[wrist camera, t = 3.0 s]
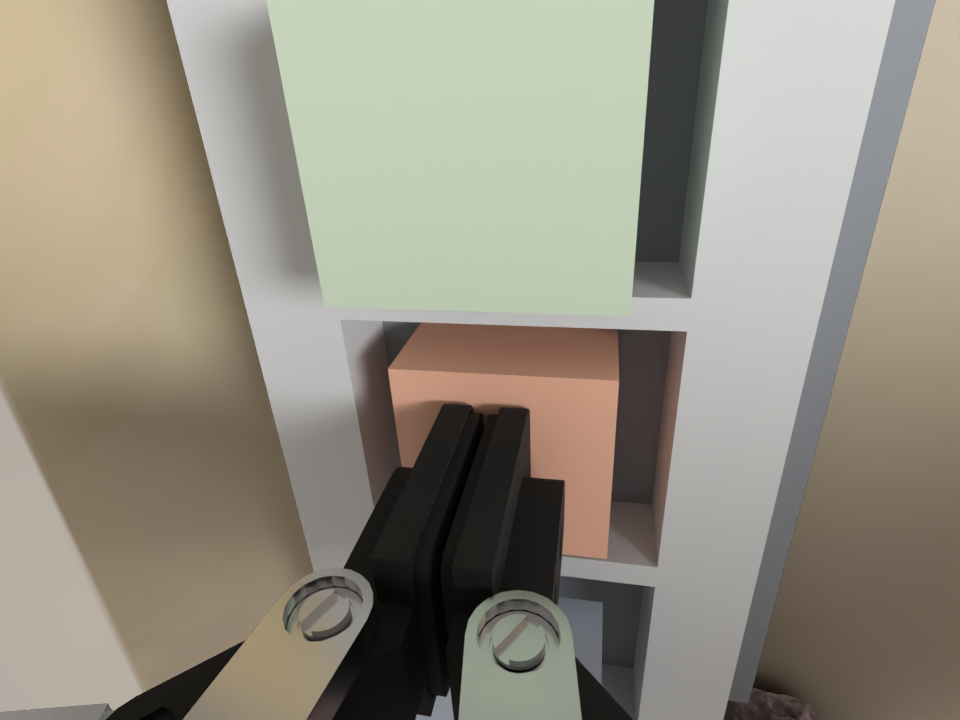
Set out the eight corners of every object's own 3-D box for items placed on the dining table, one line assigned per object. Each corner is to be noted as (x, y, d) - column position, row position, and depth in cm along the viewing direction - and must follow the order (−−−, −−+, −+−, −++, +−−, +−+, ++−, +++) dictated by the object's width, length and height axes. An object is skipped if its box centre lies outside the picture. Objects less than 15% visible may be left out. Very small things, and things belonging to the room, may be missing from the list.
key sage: (647, -55, 7) (661, -102, 5) (626, 256, 9) (630, 315, 7) (348, -25, 8) (255, -56, 6) (384, 254, 10) (324, 307, 8)
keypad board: (1084, -867, 6) (1630, -1934, 3) (735, 642, 18) (764, 778, 15) (115, -551, 9) (-190, -929, 6) (358, 591, 21) (308, 696, 17)
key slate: (602, 602, 13) (601, 710, 11) (595, 712, 15) (592, 822, 13) (427, 579, 14) (394, 675, 12) (442, 687, 16) (415, 786, 14)
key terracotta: (617, 322, 12) (619, 380, 10) (607, 481, 14) (606, 558, 12) (425, 316, 13) (387, 368, 11) (440, 466, 15) (411, 536, 13)
